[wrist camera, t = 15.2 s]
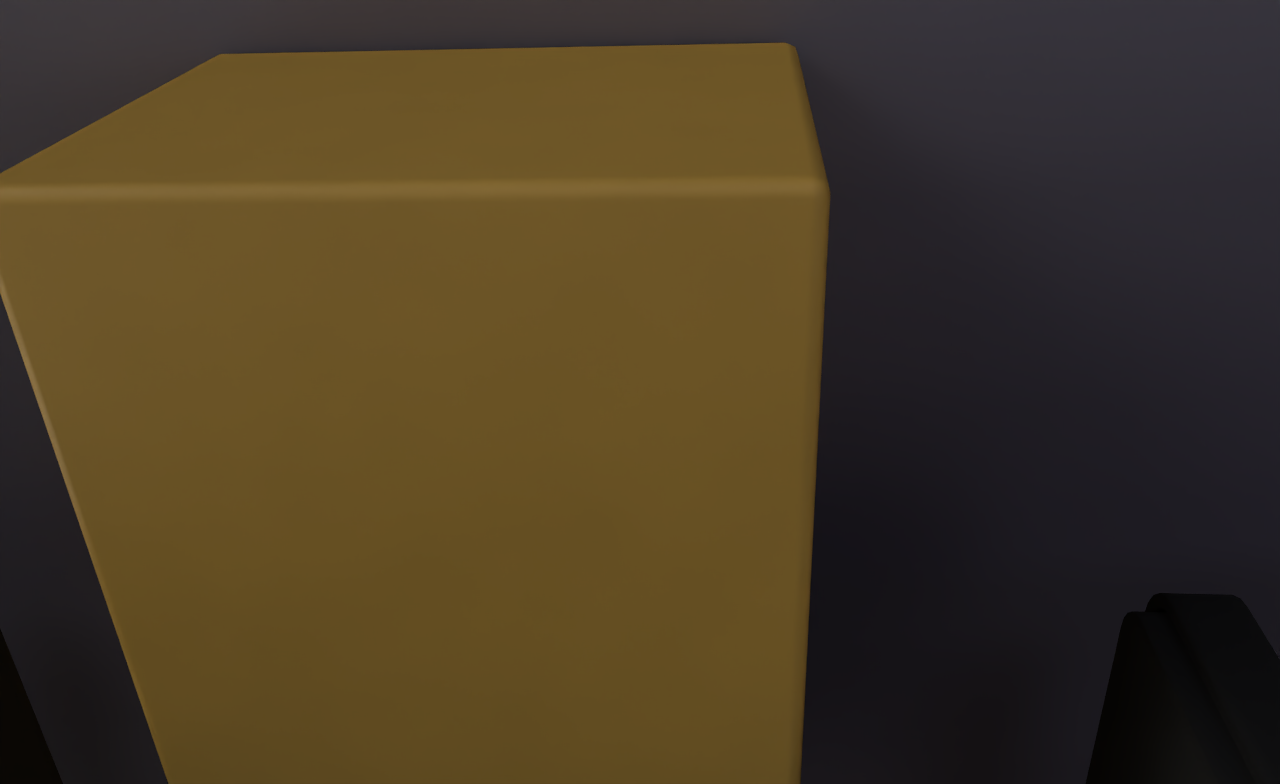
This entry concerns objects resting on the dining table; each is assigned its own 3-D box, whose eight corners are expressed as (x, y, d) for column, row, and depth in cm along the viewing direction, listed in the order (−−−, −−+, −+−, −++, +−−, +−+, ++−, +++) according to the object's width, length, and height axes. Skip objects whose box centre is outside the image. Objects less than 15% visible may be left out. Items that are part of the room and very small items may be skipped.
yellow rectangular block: (213, 50, 8) (-43, 188, 6) (798, 39, 8) (833, 181, 5) (398, 906, 13) (308, 1208, 10) (767, 923, 13) (778, 1239, 10)
